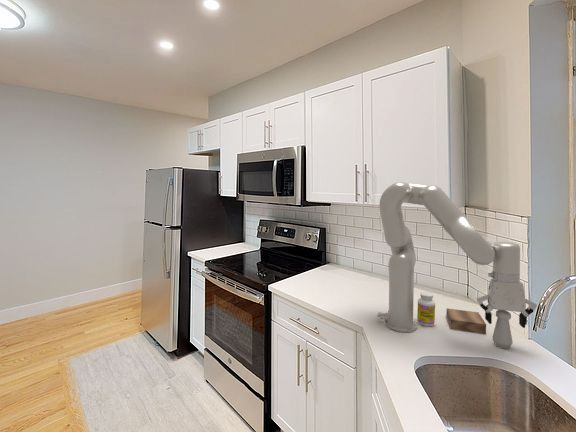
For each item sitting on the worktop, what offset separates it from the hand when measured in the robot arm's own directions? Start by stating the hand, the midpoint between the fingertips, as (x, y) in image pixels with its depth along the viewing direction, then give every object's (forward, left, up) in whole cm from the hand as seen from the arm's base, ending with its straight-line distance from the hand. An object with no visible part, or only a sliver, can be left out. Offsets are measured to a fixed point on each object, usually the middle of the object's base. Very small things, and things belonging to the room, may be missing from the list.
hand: (505, 324), depth 99 cm
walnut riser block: (-10, +14, -8) cm, 19 cm away
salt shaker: (-1, 0, -9) cm, 9 cm away
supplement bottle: (-25, +10, -9) cm, 28 cm away
